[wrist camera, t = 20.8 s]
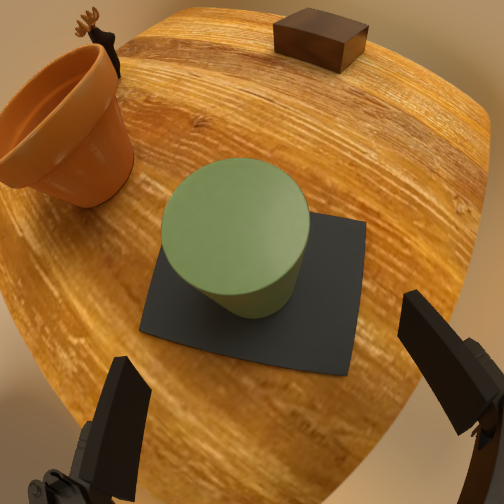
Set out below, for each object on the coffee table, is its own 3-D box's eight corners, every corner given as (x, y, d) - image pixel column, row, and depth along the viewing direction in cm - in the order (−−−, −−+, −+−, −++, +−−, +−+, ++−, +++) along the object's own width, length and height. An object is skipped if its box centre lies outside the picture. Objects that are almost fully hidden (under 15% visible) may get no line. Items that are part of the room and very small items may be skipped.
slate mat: (364, 224, 21) (366, 221, 21) (345, 375, 18) (347, 376, 17) (180, 197, 24) (178, 193, 23) (141, 331, 20) (138, 330, 19)
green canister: (301, 246, 20) (317, 166, 11) (287, 325, 19) (297, 310, 9) (224, 233, 21) (185, 152, 12) (205, 309, 20) (142, 277, 10)
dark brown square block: (364, 50, 30) (369, 25, 25) (340, 74, 28) (344, 43, 23) (307, 31, 32) (307, 7, 28) (274, 52, 30) (272, 23, 26)
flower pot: (81, 261, 23) (-20, 202, 10) (43, 189, 27) (-20, 133, 14) (183, 158, 25) (132, 49, 13) (121, 112, 29) (78, 39, 17)
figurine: (141, 76, 32) (106, -1, 18) (102, 104, 30) (56, 30, 16) (115, 65, 35) (84, 3, 21) (83, 89, 33) (45, 30, 19)
